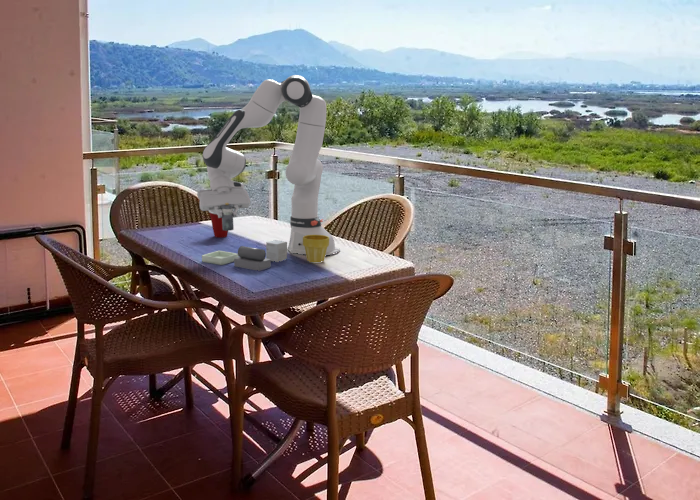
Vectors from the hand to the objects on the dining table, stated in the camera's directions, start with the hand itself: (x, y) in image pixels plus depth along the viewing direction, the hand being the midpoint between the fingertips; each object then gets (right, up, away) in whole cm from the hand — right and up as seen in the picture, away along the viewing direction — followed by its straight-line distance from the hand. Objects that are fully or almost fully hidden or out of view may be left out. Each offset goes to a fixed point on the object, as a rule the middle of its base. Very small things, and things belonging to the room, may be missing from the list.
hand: (227, 216), depth 269 cm
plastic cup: (-10, -7, +39) cm, 41 cm away
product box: (+20, -17, -2) cm, 26 cm away
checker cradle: (+12, -20, -13) cm, 26 cm away
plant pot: (+35, -18, -3) cm, 40 cm away
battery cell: (0, -5, +2) cm, 5 cm away
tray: (-2, -18, -5) cm, 18 cm away
